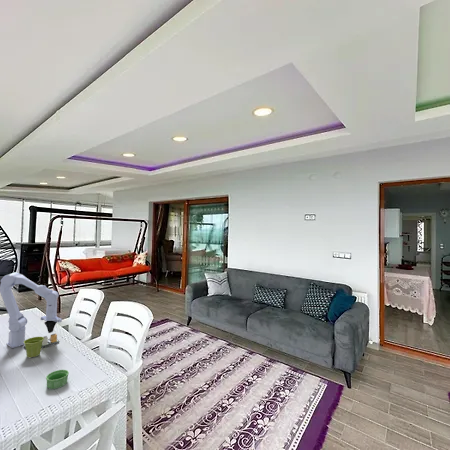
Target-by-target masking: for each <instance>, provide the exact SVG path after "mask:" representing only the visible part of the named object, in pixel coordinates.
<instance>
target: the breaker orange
mask: <svg viewBox="0 0 450 450" xmlns="http://www.w3.org/2000/svg"><path fill="white" fill-rule="evenodd" d="M49 338H50V341H51V342H55V341H57V340H58V334H57V333H56V332H55V333H52V334H50V337H49Z"/></svg>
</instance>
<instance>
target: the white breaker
mask: <svg viewBox="0 0 450 450" xmlns="http://www.w3.org/2000/svg"><path fill="white" fill-rule="evenodd" d="M43 337H44V340H43V342H42V345H46V344H48V338H49V337H48V336H47V335H45V336H43Z"/></svg>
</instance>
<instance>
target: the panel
mask: <svg viewBox="0 0 450 450" xmlns="http://www.w3.org/2000/svg"><path fill="white" fill-rule="evenodd" d="M59 343H60V340H58V339H57V341H55V342H51V341H50V337H48V344H46V345H42V346H41V350H42V349H43V348H48V347H51V346H53V345H57V344H59ZM23 348H24V349H25V350H26V347H25V344H24V345H23Z"/></svg>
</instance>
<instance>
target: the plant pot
mask: <svg viewBox="0 0 450 450" xmlns="http://www.w3.org/2000/svg"><path fill="white" fill-rule="evenodd" d="M43 340H44V336H33V337H29V338H27V339H25V341H24V345H25V347H26V349H25V352H26V357H27V358H36V357H38V356H40V354H41V351H42V349H41V346H42V342H43Z"/></svg>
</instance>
